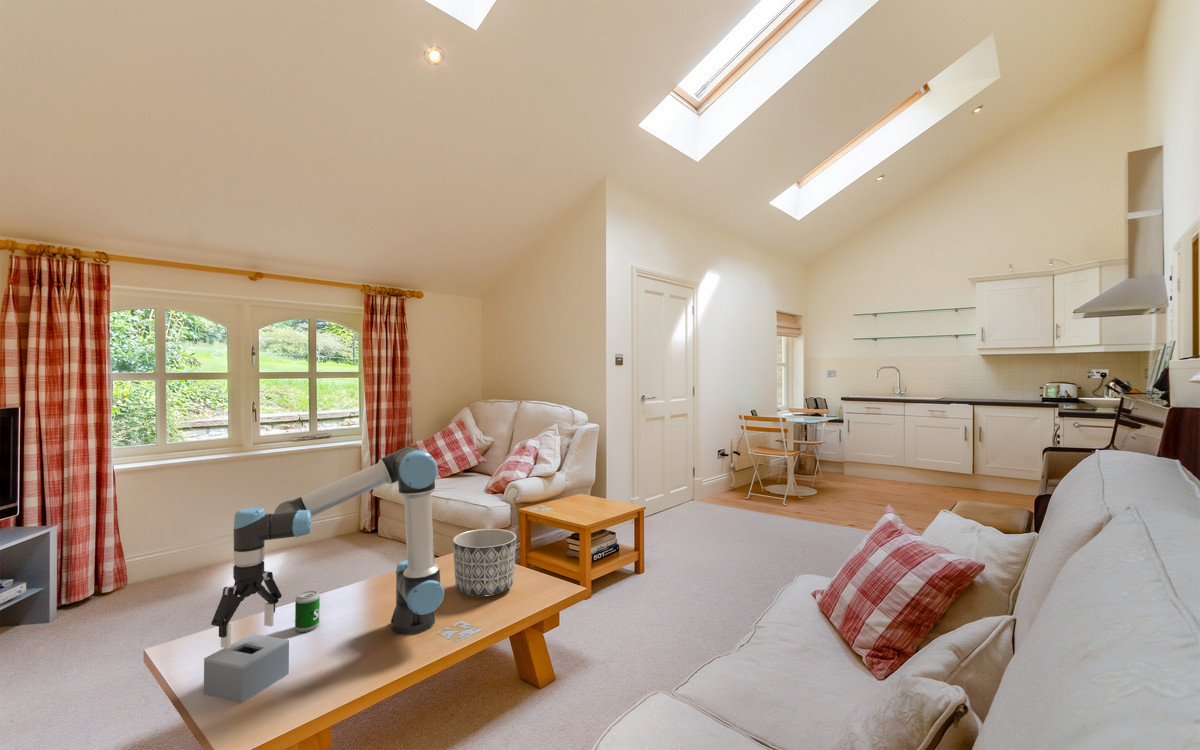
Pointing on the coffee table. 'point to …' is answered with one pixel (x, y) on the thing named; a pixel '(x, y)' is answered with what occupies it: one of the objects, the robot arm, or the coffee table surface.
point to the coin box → (246, 667)
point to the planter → (484, 561)
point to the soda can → (307, 611)
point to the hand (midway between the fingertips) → (248, 636)
